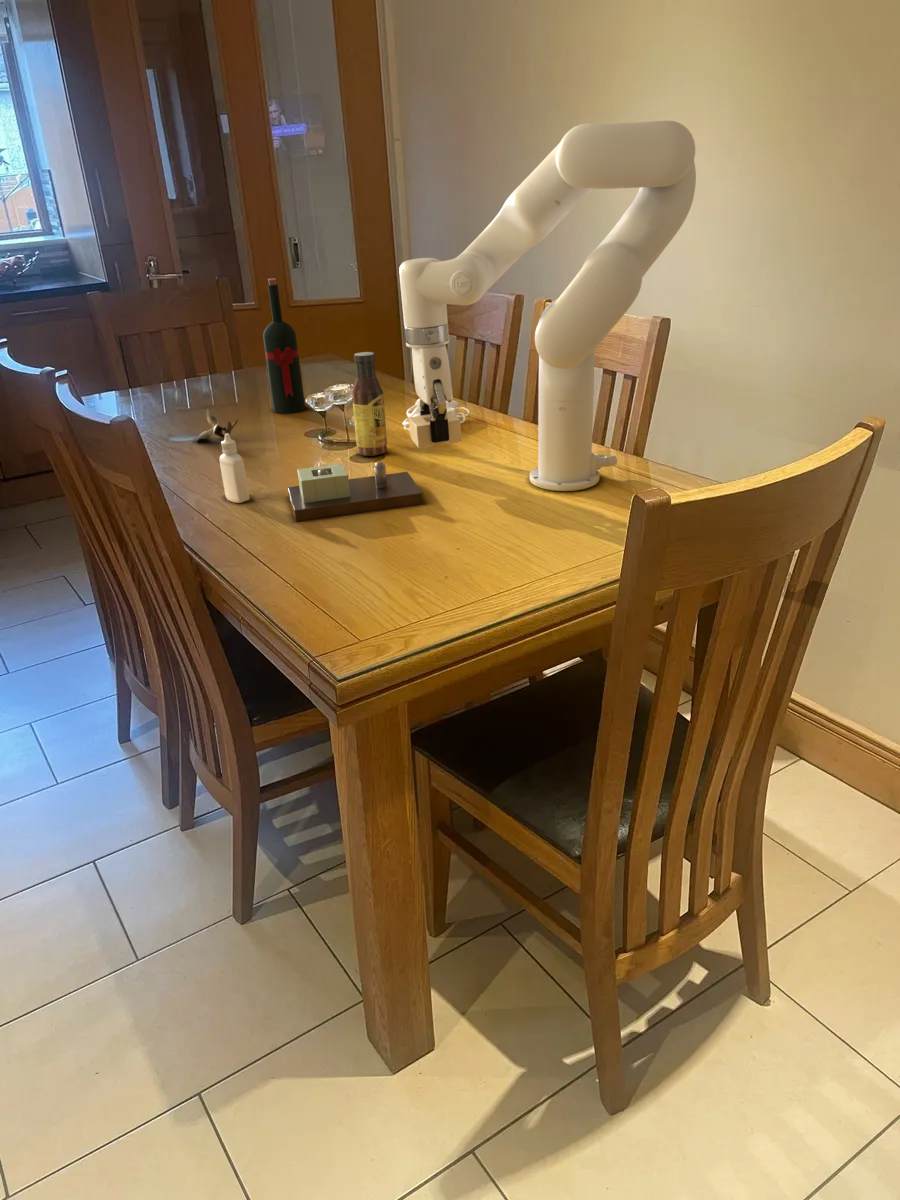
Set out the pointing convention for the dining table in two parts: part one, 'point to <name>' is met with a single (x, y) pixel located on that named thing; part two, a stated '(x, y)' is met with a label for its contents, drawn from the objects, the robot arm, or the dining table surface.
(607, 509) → the dining table surface
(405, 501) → the peg board base
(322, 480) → the green block with hole
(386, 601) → the dining table surface
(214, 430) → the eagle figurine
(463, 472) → the dining table surface
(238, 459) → the eye dropper bottle
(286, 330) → the wine bottle
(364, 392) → the sauce bottle
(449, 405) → the tangled rod sculpture
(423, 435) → the beige block with hole
